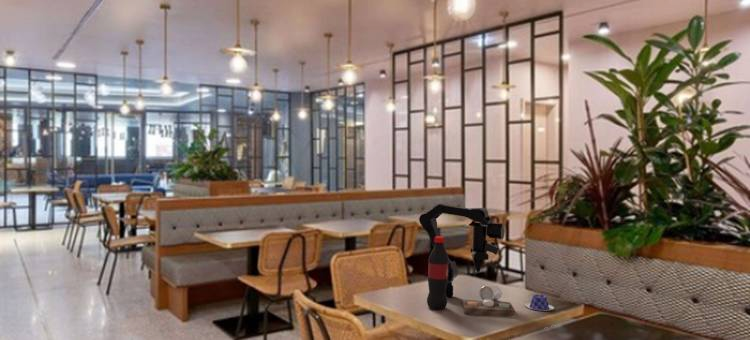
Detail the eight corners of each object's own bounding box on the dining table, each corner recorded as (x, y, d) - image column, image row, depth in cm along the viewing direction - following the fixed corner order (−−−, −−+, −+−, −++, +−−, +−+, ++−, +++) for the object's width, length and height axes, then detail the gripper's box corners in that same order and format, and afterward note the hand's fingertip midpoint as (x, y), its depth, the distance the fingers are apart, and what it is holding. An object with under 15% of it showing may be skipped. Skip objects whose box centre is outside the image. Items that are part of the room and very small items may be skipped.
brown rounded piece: (467, 310, 219) (467, 303, 219) (466, 307, 224) (466, 301, 223) (477, 311, 219) (478, 304, 219) (476, 308, 223) (477, 301, 223)
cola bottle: (448, 306, 225) (451, 236, 224) (444, 312, 217) (447, 238, 216) (429, 304, 228) (431, 234, 227) (424, 309, 220) (427, 237, 219)
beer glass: (491, 282, 240) (482, 282, 227) (505, 289, 237) (497, 290, 224) (485, 296, 240) (475, 297, 227) (499, 303, 237) (490, 305, 224)
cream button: (483, 308, 219) (483, 302, 218) (481, 305, 223) (482, 299, 223) (494, 309, 218) (494, 302, 218) (492, 306, 222) (492, 299, 222)
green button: (499, 312, 218) (499, 305, 218) (497, 309, 222) (497, 302, 222) (510, 313, 218) (510, 306, 217) (508, 310, 222) (508, 303, 222)
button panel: (464, 313, 215) (464, 307, 215) (462, 305, 227) (462, 299, 227) (514, 316, 214) (515, 310, 214) (509, 308, 226) (510, 302, 226)
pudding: (552, 313, 221) (553, 301, 220) (523, 309, 225) (523, 297, 225) (555, 306, 232) (555, 294, 232) (526, 302, 236) (527, 291, 236)
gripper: (501, 241, 224) (499, 277, 224) (495, 234, 242) (493, 268, 243) (474, 239, 225) (473, 276, 225) (470, 233, 243) (469, 267, 244)
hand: (478, 272), depth 234 cm, fingers closed
